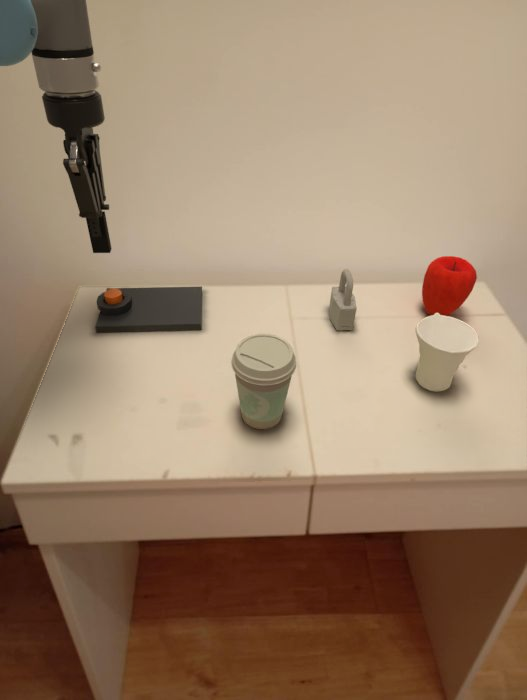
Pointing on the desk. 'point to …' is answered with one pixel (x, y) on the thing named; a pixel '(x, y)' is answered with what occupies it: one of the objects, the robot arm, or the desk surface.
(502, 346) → the desk surface
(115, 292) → the button
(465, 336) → the cup
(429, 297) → the apple
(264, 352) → the coffee cup
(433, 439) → the desk surface
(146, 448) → the desk surface
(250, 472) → the desk surface
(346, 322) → the padlock
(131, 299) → the scale
